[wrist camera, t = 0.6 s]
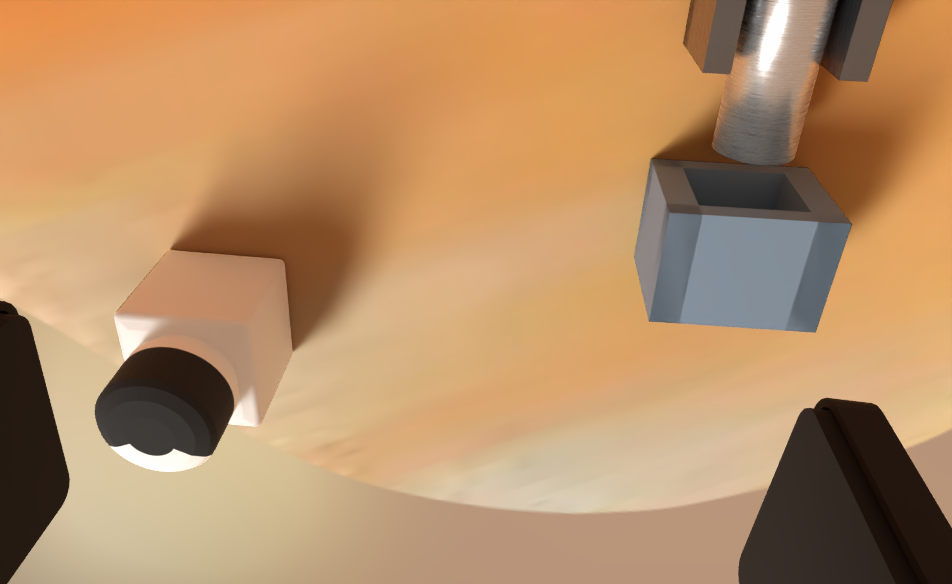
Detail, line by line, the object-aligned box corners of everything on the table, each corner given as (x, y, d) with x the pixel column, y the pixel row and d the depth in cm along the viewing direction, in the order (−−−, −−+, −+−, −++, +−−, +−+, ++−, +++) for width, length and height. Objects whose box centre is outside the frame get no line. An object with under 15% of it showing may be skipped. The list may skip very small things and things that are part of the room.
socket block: (650, 158, 40) (669, 212, 35) (808, 167, 40) (851, 223, 34) (634, 257, 43) (648, 321, 38) (779, 266, 43) (815, 332, 38)
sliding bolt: (774, -201, 30) (855, -208, 23) (870, -197, 30) (985, -202, 23) (705, 133, 38) (748, 214, 30) (782, 137, 38) (845, 220, 30)
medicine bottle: (166, 247, 45) (60, 372, 35) (286, 257, 45) (213, 385, 35) (184, 344, 49) (92, 482, 39) (294, 353, 49) (231, 495, 38)
